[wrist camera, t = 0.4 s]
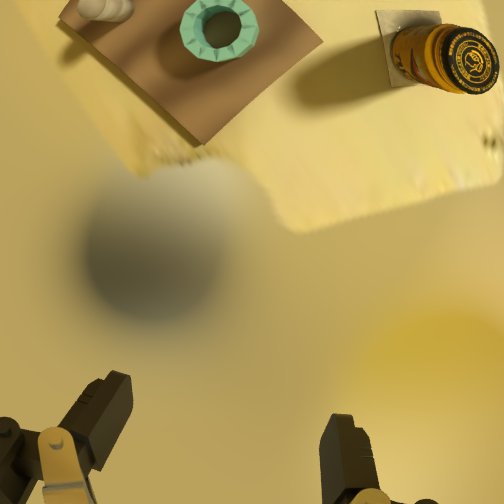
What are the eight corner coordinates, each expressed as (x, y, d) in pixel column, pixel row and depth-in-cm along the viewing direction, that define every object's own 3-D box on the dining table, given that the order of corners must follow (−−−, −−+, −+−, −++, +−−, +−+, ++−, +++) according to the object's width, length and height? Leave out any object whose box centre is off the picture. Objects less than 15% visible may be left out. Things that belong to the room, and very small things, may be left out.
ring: (179, 33, 25) (166, 30, 22) (225, -10, 22) (218, -19, 19) (224, 72, 27) (216, 74, 24) (272, 30, 25) (270, 26, 21)
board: (65, 17, 24) (15, 17, 17) (158, -86, 17) (125, -115, 10) (206, 142, 33) (184, 170, 26) (321, 42, 26) (336, 36, 19)
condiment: (390, 86, 28) (442, 105, 18) (375, 10, 23) (422, -9, 13) (449, 84, 26) (515, 105, 16) (437, 11, 22) (502, 2, 12)
